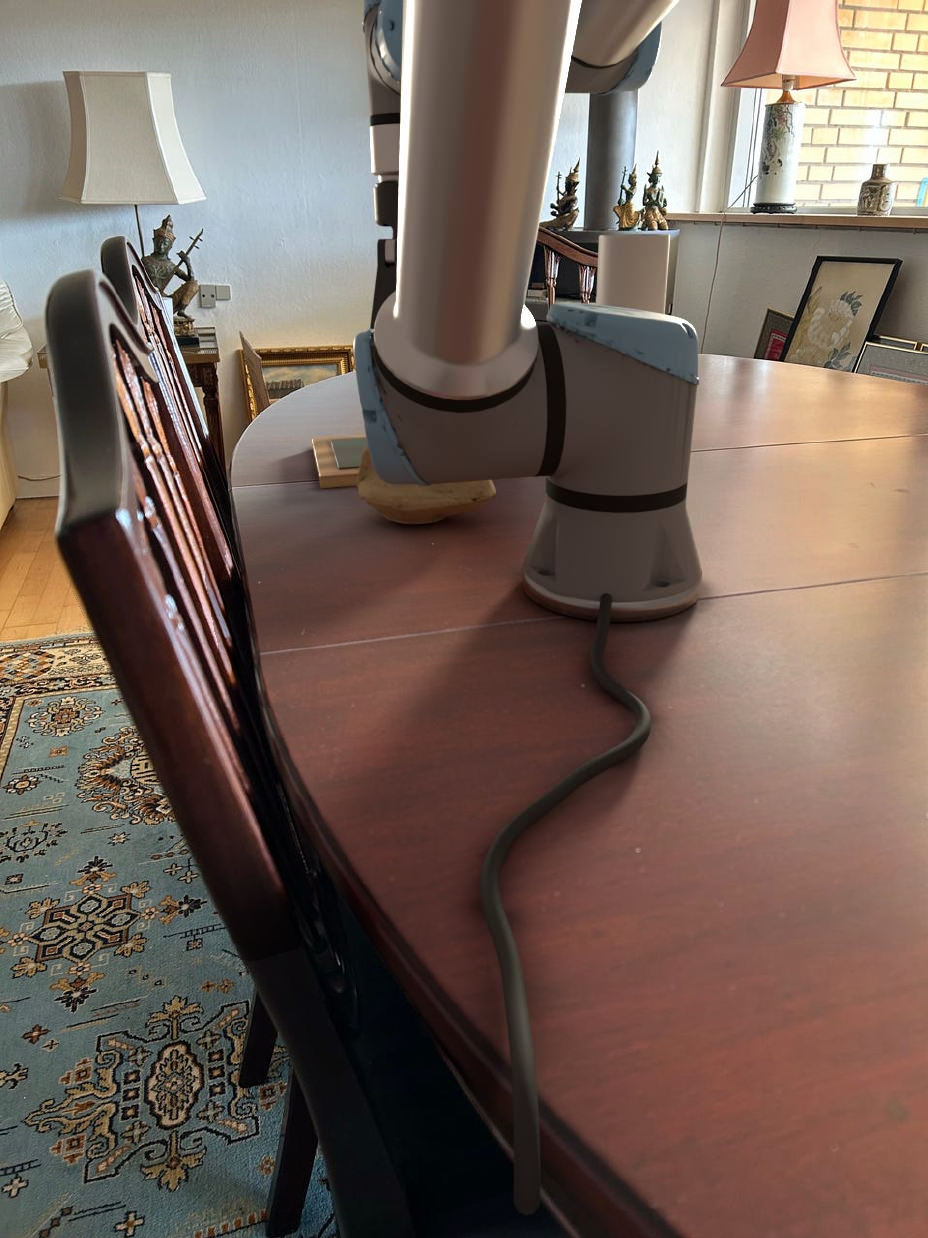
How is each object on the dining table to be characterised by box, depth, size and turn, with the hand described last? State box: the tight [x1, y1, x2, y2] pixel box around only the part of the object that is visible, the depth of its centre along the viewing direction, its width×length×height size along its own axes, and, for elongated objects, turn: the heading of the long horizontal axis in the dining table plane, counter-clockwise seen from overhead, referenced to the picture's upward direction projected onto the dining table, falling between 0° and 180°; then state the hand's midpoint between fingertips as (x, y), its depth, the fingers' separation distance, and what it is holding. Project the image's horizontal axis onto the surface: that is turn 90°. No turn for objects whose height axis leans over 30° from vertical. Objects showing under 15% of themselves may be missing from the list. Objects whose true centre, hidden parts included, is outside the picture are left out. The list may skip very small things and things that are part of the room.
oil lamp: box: [355, 445, 497, 525], centre depth 94 cm, size 11×15×8 cm
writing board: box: [311, 434, 368, 489], centre depth 117 cm, size 20×16×2 cm
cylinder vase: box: [595, 233, 671, 315], centre depth 164 cm, size 12×12×25 cm
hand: (422, 410), depth 91 cm, fingers open, 13 cm apart
